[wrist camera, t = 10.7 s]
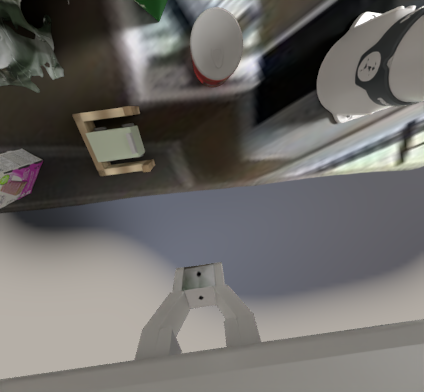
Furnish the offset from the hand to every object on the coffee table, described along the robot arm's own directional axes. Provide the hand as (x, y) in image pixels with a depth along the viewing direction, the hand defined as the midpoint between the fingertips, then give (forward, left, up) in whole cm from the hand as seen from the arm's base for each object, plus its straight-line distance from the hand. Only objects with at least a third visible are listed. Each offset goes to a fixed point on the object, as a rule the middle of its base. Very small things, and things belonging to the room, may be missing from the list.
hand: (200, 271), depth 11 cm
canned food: (-5, -17, -34) cm, 39 cm away
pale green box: (+17, -5, -34) cm, 39 cm away
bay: (+17, -5, -34) cm, 39 cm away
